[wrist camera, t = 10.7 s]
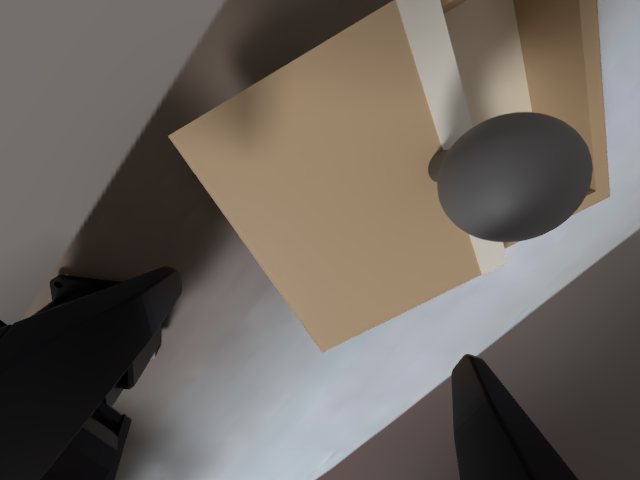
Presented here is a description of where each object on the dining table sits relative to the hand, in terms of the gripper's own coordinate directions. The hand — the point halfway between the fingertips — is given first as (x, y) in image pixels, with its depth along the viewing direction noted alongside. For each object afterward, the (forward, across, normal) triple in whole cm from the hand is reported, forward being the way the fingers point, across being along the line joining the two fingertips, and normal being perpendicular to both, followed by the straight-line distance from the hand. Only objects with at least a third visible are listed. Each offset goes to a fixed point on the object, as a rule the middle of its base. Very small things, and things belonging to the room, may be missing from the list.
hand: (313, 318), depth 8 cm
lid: (+7, -1, -1) cm, 7 cm away
